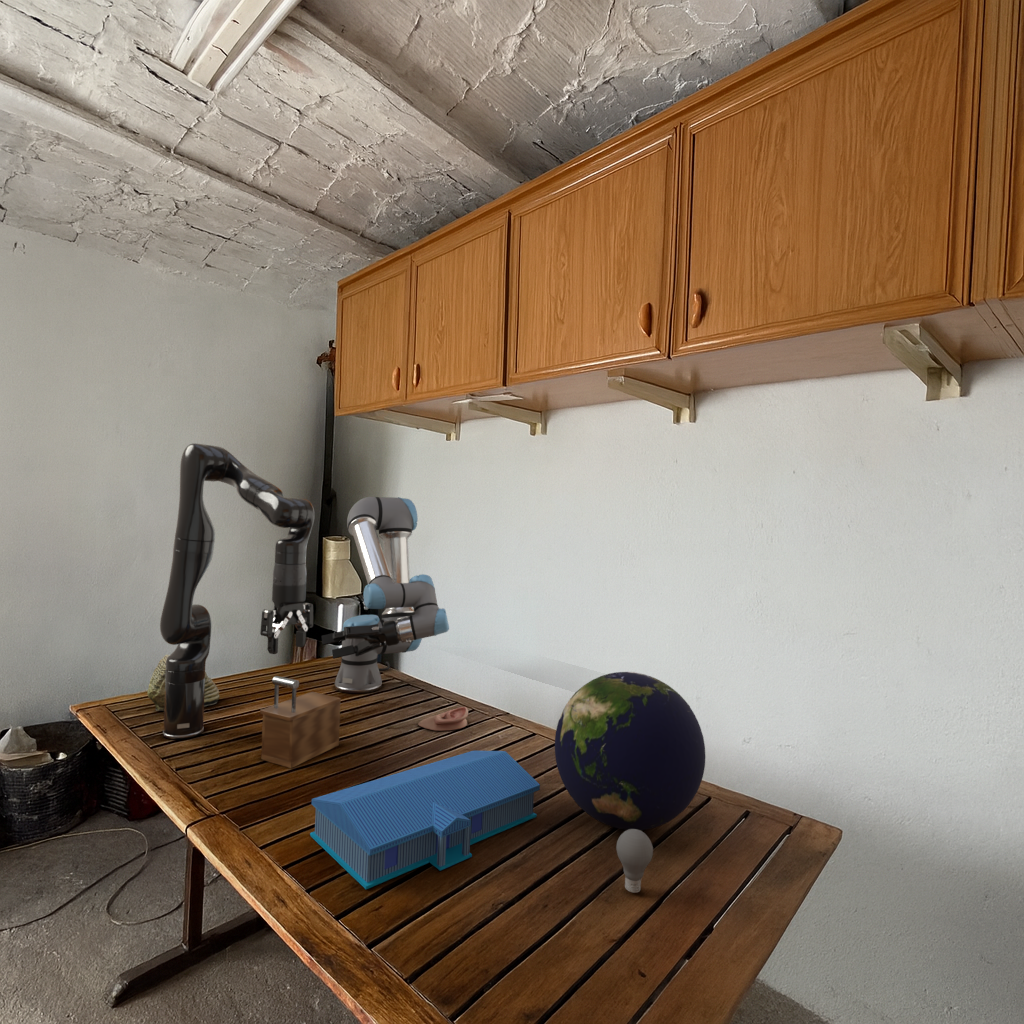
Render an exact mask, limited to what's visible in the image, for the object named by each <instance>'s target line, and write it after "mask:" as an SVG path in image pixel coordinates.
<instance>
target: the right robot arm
mask: <svg viewBox="0 0 1024 1024" xmlns="http://www.w3.org/2000/svg"><path fill="white" fill-rule="evenodd" d="M418 521H419V520H418V510H417V507H416V505H415V503H414V502H413V500H411V499H410V498H403V497H394V496H393V497H392V496H391V497H390V496H387V497H385V496H366V497H363V498H361V499H359V500H357V501H356V502H355V503H354V504H353V505H352V507H351V508H350V510H349V511H348V514H347V519H346V525H347V530H348V533H349V535H350V536H351V537H352V538H353V539H354V543H355V545H356V549H357V552H358V556H359V559H360V562H361V566H362V569H363V572H364V575H365V579H366V582H367V584H366V585H365V586H364V589H363V603H364V605H365V607H366V608H367V609H370V610H371V609H372V610H383V609H384V611H383V612H382V613H381V618H379V617H380V616H378V615H377V614H360V615H356V616H352V617H350V618H348V619H346V620H344V622H343V625H342V630H340V631H336V632H333V633H332V632H331V633H328V634H323V635H321V643H322V646H327V645H330V644H335V643H339V642H341V647H338V648H334V649H331V652H332V659H339V658H341V659H340V660H341V663H340V667H339V669H338V671H337V675H336V677H335V680H334V689H335V690H336V691H338V692H341V693H345V694H367V693H372V692H377V691H378V690H380V689H381V688H382V686H383V679H382V676H381V672H383V671H388V670H390V669H391V664H390V662H389V661H385V666H387V667H383V668H381V667H379V665H378V655H387V654H399V653H404V654H405V653H408V652H413V651H416V650H418V648H419V647H420V645H421V643H422V639H426V638H430V637H437V636H438V635H441V634H446V633H447V632H449V630H450V625H449V620H448V615H447V611H446V609H445V608H443V607H442V608H440V607H439V605H438V600H437V594H436V588H435V584H434V581H433V578H432V576H430V575H428V574H425V573H424V574H423V573H422V574H418V575H417V574H416V575H414V576H412V577H411V575H410V572H411V571H410V552H409V549H410V548H409V540H410V538H411V537H412V535H413V531H415V530H416V529H417V526H418ZM377 531H378V533H377ZM380 539H381V540H382V541H383V547H382V545H381V541H380Z"/></svg>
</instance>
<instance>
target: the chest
mask: <svg viewBox="0 0 1024 1024" xmlns="http://www.w3.org/2000/svg"><path fill="white" fill-rule="evenodd" d="M340 723H341V701H340V702H338V703H335V704H332V705H330V706H327V707H325V708H322V709H320V710H317V711H315V712H312V713H310V714H307V715H305V716H302V717H300V718H297V719H294V720H292V721H287V720H283V719H279V718H275V717H272V716H268V715H264V714H262V728H261V755H260V759H261V760H263V761H265V762H270V763H273V764H276V765H279V766H282V767H285V768H288V769H293V768H295V767H298V766H299V765H301V764H303V763H305V762H307V761H309V760H311V759H313V758H316V757H318V756H320V755H322V754H325V752H328V751H330V750H332V749H334V748H336V747H338V746H340Z"/></svg>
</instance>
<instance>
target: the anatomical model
mask: <svg viewBox="0 0 1024 1024" xmlns="http://www.w3.org/2000/svg"><path fill="white" fill-rule="evenodd" d="M468 715H469V709H468V707H466V706H461V707H460V706H459V707H456V708H453V709H449V710H447V711H444V712H441V713H439V714H436V715H431V716H428V717H426V718H424V719H421V720H420V721H419V722H418V723H417V725H418V726H419V727H421V728H424V729H427V730H430V731H437V732H439V731H440V732H441V731H453V730H460V729H462V728H465V727H466V726H468V720H467V718H468Z"/></svg>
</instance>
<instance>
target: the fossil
mask: <svg viewBox="0 0 1024 1024" xmlns="http://www.w3.org/2000/svg"><path fill="white" fill-rule="evenodd" d="M170 655H171V654H165V655H164V656H163V657H162V658H161V659H160V660H159V662H158V663H157V666H156V667H155V669H154V670H153V672H152V675H151V677H150V680H149V684H148V688H147V697H148V699H149V700H150V701H152V703H153V704H154V706H155V711H158V712H159V711H162V712H163V711H164V705H165V674H166V660H167V658H168V656H170ZM220 698H221V696H220V690H219V688H218V686H217V685H216V683H215V682H214V681H213V679H212V678H211V677H209V675H208V674H207V672H206V671H205V693H204V707H207V706H213V705H215V704H217V703H218V701H219V699H220Z"/></svg>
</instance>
